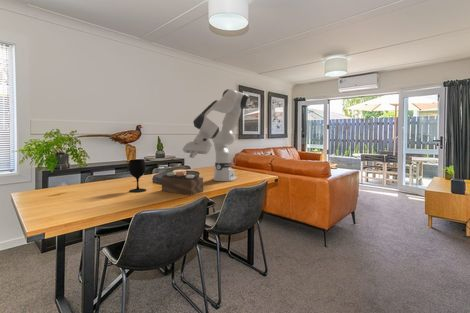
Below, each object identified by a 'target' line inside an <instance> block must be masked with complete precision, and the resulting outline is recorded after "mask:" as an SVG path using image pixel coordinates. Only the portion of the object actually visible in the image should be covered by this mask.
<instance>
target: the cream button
mask: <svg viewBox="0 0 470 313" xmlns="http://www.w3.org/2000/svg"><path fill="white" fill-rule="evenodd" d="M185 176H186V178H190V179H191V178H194V177H195V175H194V174H185Z"/></svg>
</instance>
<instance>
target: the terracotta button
mask: <svg viewBox="0 0 470 313" xmlns="http://www.w3.org/2000/svg"><path fill="white" fill-rule="evenodd" d="M175 175H176V176H185V172H184V171H176V173H175Z"/></svg>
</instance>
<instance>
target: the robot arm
mask: <svg viewBox="0 0 470 313" xmlns="http://www.w3.org/2000/svg"><path fill="white" fill-rule="evenodd" d="M250 101H251V97H250V95H248V94H247V93H243V92H241V91H238V90H235V89H225V90H224V91H223V93H222V96H221V98H220V99H219V100H217V99H216V100H214V101H212V102H211V103H210V104H209V105H208V106H207V107H205V108H204V110H203V111H202V112H201V113H199V114H198V115H196V116H195V117H194V119H193V122H192V123H193V127H194V128H196V129H198V130H199V131H198V134H196V136H195V138H194V139H193V141H189V142H186V144H185V145H184V146H183V147H182V151H183V152H184V154H189V155H188V157H189V158H190V159H194V158H195V156H197V155H198V154H199V155H207V154H209V152H210V150H211V148H212V146H214V150H215V151H214V152H215V162H214V170H213V176H212V180H213V181H216V182H233V181H235V180H237V179H239V178H238V176H236V172H235V170H234V169H233V168H232V167H231V166H232V165H233V162H230V157H231V156H230V151H229V149H228V146H231V145H233V143H234V142H235V135H234V134H235V129H236V126H237V124H238V121H239V120H240V117H241V113H242V110H244V109H246V108H247V107H248V106H249V104H250ZM212 111H214V112H219V113H222V114H224V116H223V117H224V118H223V119H222V127H221V130H220V127H219V126H218V125H217V124H216V123H215V122H214V121H213V120H211V119H209V118H208V117H207V116H208V115H209V114H210V113H212ZM210 140H211V141H212V142H213V144H212V143H211V141H210Z"/></svg>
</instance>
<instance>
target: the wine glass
mask: <svg viewBox="0 0 470 313" xmlns="http://www.w3.org/2000/svg"><path fill="white" fill-rule="evenodd" d="M146 169H147V165H146V161H145V159H143V158H141V159H139V158H137V159H130V160H129V162H128V172H129V174H130V175H131V176H132V177H133V178H135V179H136V180H135V181H136V188H132V189H129V192H130V193H133V194H134V193H143V192H146V191H147V189H146V188H140V186H139V180H140V178H141V177H143V176H144V174H145V172H146Z"/></svg>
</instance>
